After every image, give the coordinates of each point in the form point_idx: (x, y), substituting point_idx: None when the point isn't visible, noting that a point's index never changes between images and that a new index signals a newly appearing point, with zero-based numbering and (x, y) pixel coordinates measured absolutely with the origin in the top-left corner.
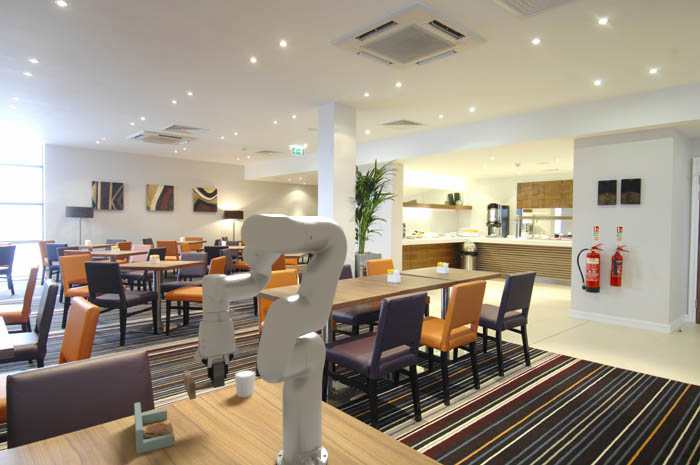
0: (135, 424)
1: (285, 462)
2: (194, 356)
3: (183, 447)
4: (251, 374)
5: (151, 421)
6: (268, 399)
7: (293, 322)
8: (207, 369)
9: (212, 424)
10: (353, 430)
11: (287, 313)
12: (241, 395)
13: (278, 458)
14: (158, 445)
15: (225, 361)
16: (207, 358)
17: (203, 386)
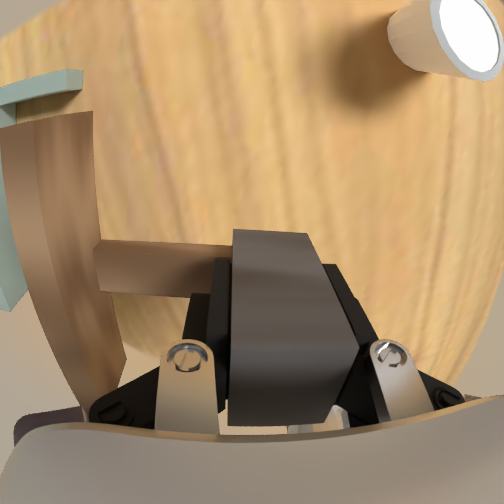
0: None
1: (298, 430)
2: (15, 442)
3: (125, 302)
4: (489, 62)
5: (38, 97)
6: (456, 146)
7: None
8: (184, 327)
9: (223, 215)
10: (445, 375)
11: None
12: (400, 55)
13: None
14: None
15: (346, 427)
16: (172, 423)
17: (164, 292)
